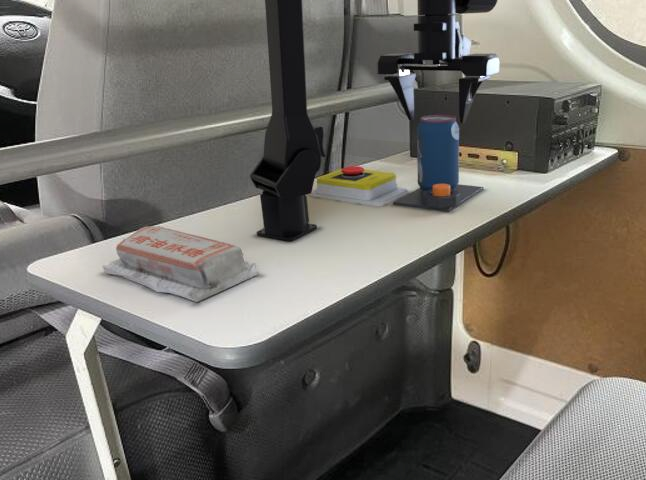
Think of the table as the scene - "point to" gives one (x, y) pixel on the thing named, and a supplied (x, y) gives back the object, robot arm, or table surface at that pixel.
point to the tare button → (441, 190)
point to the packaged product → (180, 263)
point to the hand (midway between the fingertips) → (436, 121)
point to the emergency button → (359, 186)
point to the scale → (439, 198)
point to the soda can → (438, 151)
